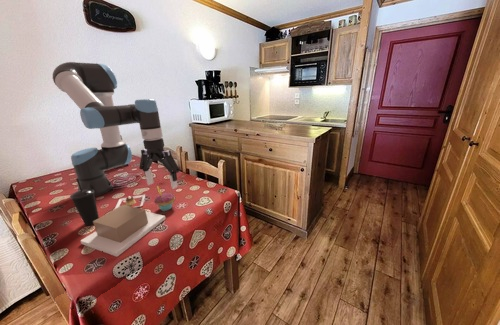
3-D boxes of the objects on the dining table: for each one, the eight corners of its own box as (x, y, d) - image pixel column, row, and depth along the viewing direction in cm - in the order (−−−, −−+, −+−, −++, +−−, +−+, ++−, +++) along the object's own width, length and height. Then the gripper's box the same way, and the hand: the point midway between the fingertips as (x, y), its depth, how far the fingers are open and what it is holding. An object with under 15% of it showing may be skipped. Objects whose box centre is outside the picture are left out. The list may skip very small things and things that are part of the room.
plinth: (81, 243, 73) (75, 226, 70) (134, 211, 92) (130, 196, 90) (117, 256, 67) (111, 238, 64) (165, 218, 86) (162, 203, 83)
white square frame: (119, 200, 103) (117, 192, 101) (145, 196, 107) (144, 188, 105) (113, 213, 92) (111, 204, 90) (143, 207, 96) (141, 198, 94)
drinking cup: (88, 217, 88) (73, 175, 82) (107, 216, 89) (93, 174, 82) (76, 228, 81) (58, 183, 75) (96, 227, 82) (80, 182, 75)
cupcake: (157, 215, 89) (151, 190, 85) (155, 206, 96) (150, 183, 92) (177, 209, 92) (173, 185, 88) (174, 201, 99) (170, 178, 95)
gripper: (122, 139, 84) (134, 185, 91) (170, 142, 75) (179, 193, 82) (138, 135, 91) (148, 179, 98) (183, 137, 82) (191, 185, 89)
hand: (162, 185), depth 90 cm, fingers open, 13 cm apart
